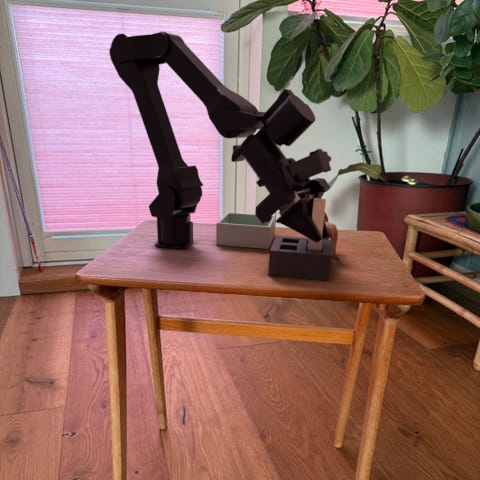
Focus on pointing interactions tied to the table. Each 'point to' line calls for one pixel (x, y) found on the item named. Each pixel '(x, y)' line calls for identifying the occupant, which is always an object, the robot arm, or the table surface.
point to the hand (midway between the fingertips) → (323, 239)
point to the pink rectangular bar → (317, 223)
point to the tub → (244, 231)
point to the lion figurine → (332, 236)
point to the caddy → (299, 259)
